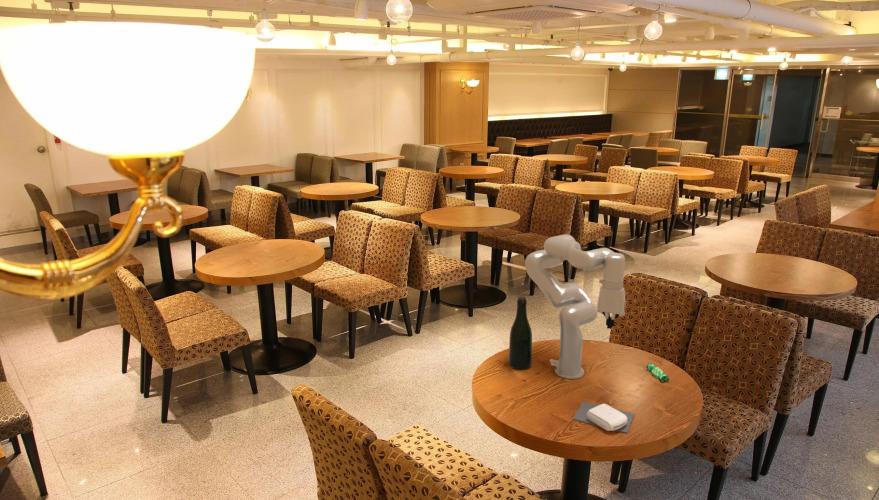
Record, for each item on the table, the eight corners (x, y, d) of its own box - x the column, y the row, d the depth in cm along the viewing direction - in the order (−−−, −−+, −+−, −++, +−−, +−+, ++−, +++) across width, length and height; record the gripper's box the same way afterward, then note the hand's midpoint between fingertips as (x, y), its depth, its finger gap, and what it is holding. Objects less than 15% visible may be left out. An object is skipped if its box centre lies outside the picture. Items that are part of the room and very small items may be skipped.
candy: (644, 368, 261) (650, 361, 261) (650, 371, 262) (655, 364, 262) (659, 381, 250) (665, 373, 249) (665, 385, 251) (671, 377, 250)
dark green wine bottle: (504, 366, 266) (505, 298, 257) (515, 357, 275) (516, 291, 265) (525, 372, 261) (527, 303, 251) (535, 363, 269) (538, 295, 260)
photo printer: (605, 401, 227) (631, 416, 217) (604, 411, 228) (630, 426, 218) (586, 409, 222) (611, 424, 212) (585, 419, 223) (611, 435, 213)
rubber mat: (573, 419, 224) (573, 418, 224) (583, 402, 236) (583, 401, 236) (627, 433, 215) (627, 432, 215) (634, 414, 227) (634, 413, 227)
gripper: (591, 284, 230) (588, 327, 235) (630, 290, 223) (627, 334, 229) (596, 278, 237) (593, 320, 242) (634, 284, 230) (630, 327, 235)
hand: (609, 327), depth 235 cm, fingers closed
